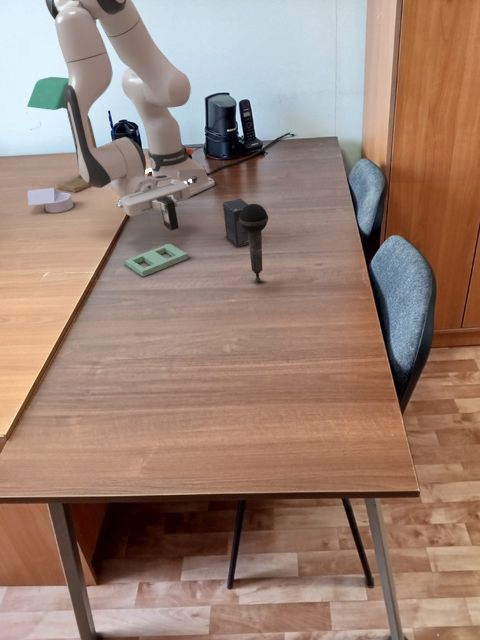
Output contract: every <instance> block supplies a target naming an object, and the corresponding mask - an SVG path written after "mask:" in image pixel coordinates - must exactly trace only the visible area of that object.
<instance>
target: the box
mask: <svg viewBox="0 0 480 640" xmlns="http://www.w3.org/2000/svg"><path fill="white" fill-rule="evenodd" d="M247 205H249V203H248V202H246V201H244V200H243V199H242V198H237V199H236V198H235V199H232V200H228V201H224V202H222V207H223V217H224V227H225V236H226V238H227V239H228V240H229V241H230V242H231V243H232V244H234V245H235V246H236V247H237V248H238V247H242V246H246V245H249V240H248V232H247V231H246V230H245V229H243V227H242V226H241V224H240V222H239V216H240V213H241V211H242V209H243V208H244V207H245V206H247Z"/></svg>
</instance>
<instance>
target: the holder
mask: <svg viewBox="0 0 480 640" xmlns="http://www.w3.org/2000/svg"><path fill="white" fill-rule="evenodd" d="M165 253H166V254H168V255H169V256H171V257H168V258H166V257H165V256H163V254H165ZM188 259H189V256H188V252H185V250H182V249H181V248H178V247H177V246H175V245H174V244H171V243H167V244H164V245H161V246H159V247H156V248H154V249H150V250H148V251H146V252H143V253H141V254H139V255H138V254H137V255H136V256H133V257H130V258H128V259H125V265H126V266H127V267H128V268H130V269H131V270H132V271H134V272H135V273H137V274H139V275H140V276H142V277H146V276H149V275H151V274H154V273H157V272H159V271H162V270H163V269H166V268H169V267H170V266H173V265H175V264H178V263H181V262H183V261H185V260H188ZM143 262H144V263H146V264H148V265H149V266H146V267H143V266H142V265H140V263H143Z"/></svg>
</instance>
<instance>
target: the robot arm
mask: <svg viewBox="0 0 480 640" xmlns="http://www.w3.org/2000/svg"><path fill="white" fill-rule="evenodd" d="M45 5H46V8H47V11H48V12H49V14H50V16H51V17H52V18H53V20H54V25H55V30H56V35H57V40H58V43H59V47H60V50H61V53H62V57H63V59H64V62H65V64H66V65H65V66H66V68H67V73H68V78H69V82H68V86H67V88H66V89H65V103H66V108H67V109H66V113H67V118H68V122H69V126H70V130H71V134H72V138H73V143H74V148H75V153H76V160H77V161H76V162H77V167H78V171H79V175H80V174H81V176H82V178H83V180H84V181H85V182H86V183H87V184H89V185H91V186H90V187H94V188H97V189H102V188H103V187H106V186H107V185H109V187H110V189H111V190H112V191H113V192H114V193H115V194H116V195H117V196H118V197H120V199H118V200H117V201H116V202H115V206H116V207H118V208H121V210H122V211H123V213H124V214H126V215H127V216H129V217H137V216H139V215H143V214H146V213H148V212H151V211H154V210H161V209H162V210H166V206H165V204H164V203H163V202H160V200H159V199H163V198H166V197H168V198H169V199H172V200H173V201H174V203H175V208H176V207H178V205H179V204H178V202H182V201H185V200H187V199H190V198H191V197H192V196H194V195H196V194H198V193H201V192H203V191H205V190H207V189H209V188H211V187H214V186H216V183H215V180H214V179H213V178H211V177H209V176H210V175H213V174H215V173H216V172H217V171H219V170H222V169H224V168H228V167H231V166H233V165H236V164H239V163H242V162H244V161H246V160H248V159H251V158H253V157H255V156H257V155H258V154H260V153H262V152H263V151H264V150H266V149H267V148H269V147H270V146H271V145H273V144H275V142H277V141H279V140H280V139H281V140H282V139H283V138H285V137H287V136H292V137H295V134H294V133H293V134H290V133H291V132H287V133H285V134H283V135H280V136H278V137H276V138H275V139H274V140H272V141H271V142H269V143H268V144H266V145H265V146H264V147H262V148H261V149H259V150H258V151H256V152H254V153H251V154H250V155H248V156H246V157H244V158H240V159H239V160H236V161H233V162H230V163H227V164H224V165H220V166H218V167H216V168H215V169H214V170H212V171H210V172H207V170H206V168H205V166H204V165H202V164H200V163H199V162H197V161H196V160H194V159H192V158H191V157H189V155H190V156H192V155H193V154H194V149H193V148H190V147H187V148H186V147H184V146H183V143H182V136H181V129H180V124H179V122H178V120H177V119H176V118H175V117H174V116H173V115H172V113H171V112H170V109H171V108H177V107H182V106H184V105H186V104H187V102H189V99H190V96H191V92H192V89H191V88H192V86H191V82H190V79H189V77H188V76H187V75H186V73H184V71H181V70H180V69H178V68H177V67H176V66H175V65H174V64H173V63H172V62H171V61H170V60H169V59H168V58H167V57H166V55H165V54H164V52H162V50H161V49H160V48H159V46H158V45H157V44H156V43H155V41H154V39H153V38H152V36H151V33H150V32H149V30H148V28H147V27H146V25H145V23H144V21H143V19H142V17H141V14H140V12H139V11H138V8H137V7H136V5H135V4H134V2H133V1H132V0H45ZM97 20H98V22H99V25H100V26H101V29H102V30H103V32H104V34H105V36H106V38H107V39H108V41H109V42H110V44H111V46H112V48H113V50H114V51H115V53H116V55H117V57H118V58H119V60H120V61H121V63H123V64H124V65H125V66H127V67H128V68H127V69H125V71H124V72H123V74H122V77H121V88H122V92H123V93H124V95H125V96H126V97H127V98H128V99H129V100H130V102H131V103H132V104H133V106H134V108H135V109H136V112H137V113H138V116H139V117H140V120H141V122H142V125H143V128H144V132H145V138H146V142H147V147H148V151H147V155H148V161H149V166H150V167H149V168H148V169H147V161H146V156H145V153H144V151H143V149H142V147H141V146H140V145H139V144H138V143H137V142H136V141H134V140H133V139H131V138H129V137H128V136H123V137H121V138H118V139H117V138H116V139H115V140H111V141H110V142H108V143H105V144H103V145H101V146H97V148H94V147H93V142H92V137H91V133H90V128H89V124H88V116H89V112H90V109H91V108H92V107H93V105H94V104H95V102H96V101H97V100H98V99H99V98H100V97H101V96H102V95H104V93H106V91H107V90H108V89H109V87H110V85H111V82H112V79H113V75H114V73H113V72H114V71H113V66H112V63H111V59H110V56H109V52H108V49H107V48H106V44H105V41H104V39H103V37H102V35H101V32H100V30H99V28H98V26H97ZM169 108H170V109H169ZM149 172H151V175H147V176H146V174H147V173H149Z"/></svg>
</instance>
